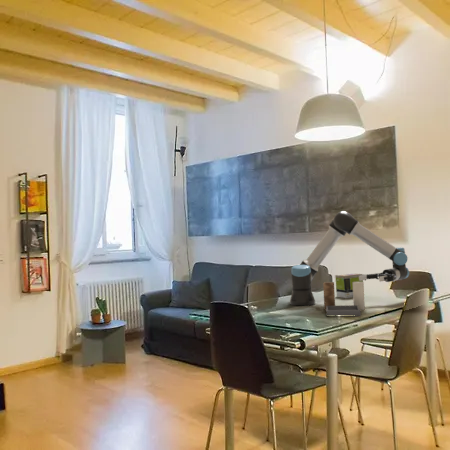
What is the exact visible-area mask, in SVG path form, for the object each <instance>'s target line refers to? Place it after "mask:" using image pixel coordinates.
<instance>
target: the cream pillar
mask: <svg viewBox="0 0 450 450" xmlns="http://www.w3.org/2000/svg"><path fill="white" fill-rule="evenodd" d="M352 283H353V297H352V300H353V302H352V304H353V305H358V307H359V309H360V311H363V310H364V309H365V310H366V303H365V301H366V300H365V285H364V284H365V282H364V281H363V282H352Z"/></svg>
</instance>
